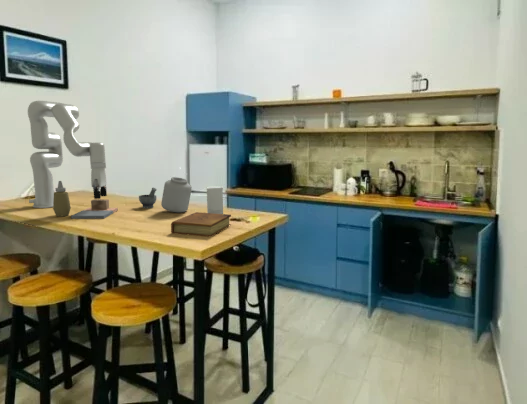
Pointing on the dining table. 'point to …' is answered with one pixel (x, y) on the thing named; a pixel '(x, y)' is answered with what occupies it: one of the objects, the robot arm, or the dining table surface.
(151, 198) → the mortar and pestle
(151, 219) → the dining table surface
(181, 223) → the diary
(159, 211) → the dining table surface
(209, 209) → the skincare box
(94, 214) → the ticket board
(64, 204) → the squeeze bottle
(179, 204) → the jar
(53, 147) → the robot arm
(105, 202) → the stub
